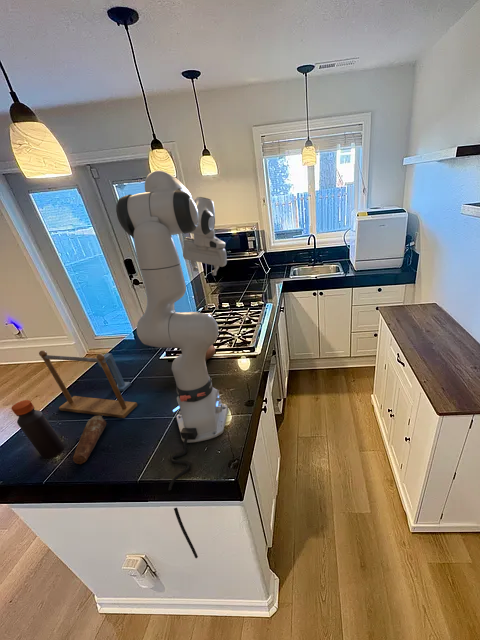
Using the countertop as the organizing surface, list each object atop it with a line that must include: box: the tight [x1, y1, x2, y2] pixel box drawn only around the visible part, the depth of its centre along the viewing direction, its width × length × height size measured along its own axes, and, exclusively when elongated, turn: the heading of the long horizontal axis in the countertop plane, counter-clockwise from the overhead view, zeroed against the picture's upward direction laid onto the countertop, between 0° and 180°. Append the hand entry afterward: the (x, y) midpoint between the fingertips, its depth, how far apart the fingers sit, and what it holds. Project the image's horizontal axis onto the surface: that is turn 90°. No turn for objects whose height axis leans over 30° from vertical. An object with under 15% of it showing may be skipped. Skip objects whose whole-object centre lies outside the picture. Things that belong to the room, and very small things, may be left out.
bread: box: [72, 415, 108, 465], centre depth 106 cm, size 6×19×6 cm, turn 7°
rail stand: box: [38, 350, 138, 419], centre depth 119 cm, size 31×8×25 cm, turn 75°
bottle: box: [10, 399, 65, 459], centre depth 101 cm, size 7×7×20 cm
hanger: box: [97, 353, 132, 392], centre depth 131 cm, size 8×5×16 cm
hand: (204, 273), depth 144 cm, fingers open, 8 cm apart
